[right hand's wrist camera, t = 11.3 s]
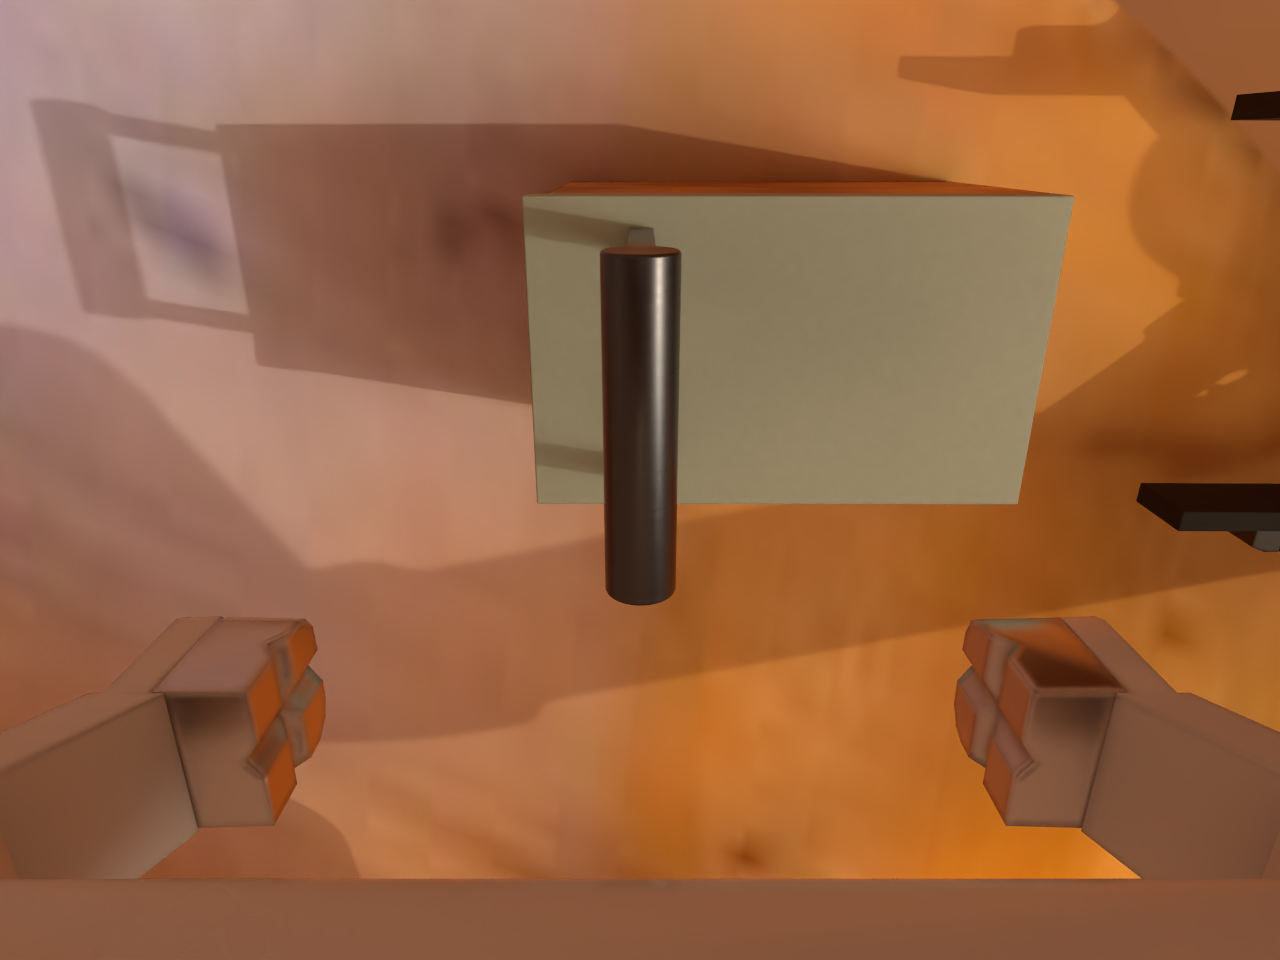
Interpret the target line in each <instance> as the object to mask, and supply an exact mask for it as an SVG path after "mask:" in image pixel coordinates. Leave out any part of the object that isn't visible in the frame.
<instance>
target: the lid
mask: <svg viewBox="0 0 1280 960" xmlns="http://www.w3.org/2000/svg"><path fill="white" fill-rule="evenodd" d="M1073 202H1074V196H1071V195H1062V194H967V193H529V194H526V195H524V196H522V210H523V230H524V250H525V270H526V290H527V310H528V330H529V350H530V370H531V390H532V410H533V430H534V450H535V470H536V490H537V503H539V504H604V525H605V583H606V591H607V593H608V594H609V595H610V596H611V597H612V598H613V599H615V600H617V601H619V602H622V603H625V604H630V605H651V604H656V603H659V602H662V601H664V600H666V599H668V598H669V597H671V595H672V594H673V593H674V591H675V585H676V531H677V504H1017V503H1018V498H1019V493H1020V488H1021V482H1022V477H1023V471H1024V466H1025V461H1026V455H1027V450H1028V444H1029V439H1030V434H1031V428H1032V423H1033V417H1034V412H1035V407H1036V401H1037V396H1038V390H1039V385H1040V380H1041V374H1042V369H1043V363H1044V358H1045V353H1046V347H1047V342H1048V336H1049V331H1050V326H1051V320H1052V315H1053V309H1054V304H1055V299H1056V293H1057V288H1058V283H1059V277H1060V272H1061V266H1062V261H1063V256H1064V250H1065V245H1066V239H1067V234H1068V229H1069V223H1070V218H1071V212H1072V207H1073Z"/></svg>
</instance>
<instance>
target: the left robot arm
mask: <svg viewBox="0 0 1280 960" xmlns="http://www.w3.org/2000/svg"><path fill="white" fill-rule="evenodd" d="M1231 120H1280V91H1276V92H1265V93H1253V94H1242V95H1237V97H1236V101H1235V105H1234V109H1233V113H1232V117H1231ZM1137 502H1138V503H1140V504H1141V505H1143V506H1144V507H1145V508H1147V509H1148V510H1150V511H1151V512H1152V513H1154V514H1155V515H1157V516H1158V517H1159V518H1161V519H1162V520H1164V521H1165V522H1166V523H1168V524H1169V525H1171V526H1172V527H1173V528H1175V529H1176V530H1178V531H1228V532H1230V533H1231V534H1233V535H1235V536H1236V537H1238V538H1239V539H1241V540H1242V541H1244V542H1245V543H1247V544H1248V545H1250V546H1251V547H1253V548H1256V549H1258V550H1261V551H1263V552H1278V551H1280V484H1205V483H1141V485H1140V489H1139V493H1138V497H1137Z"/></svg>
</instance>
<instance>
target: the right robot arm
mask: <svg viewBox="0 0 1280 960" xmlns="http://www.w3.org/2000/svg"><path fill="white" fill-rule="evenodd" d="M316 651H317V645H316V640H315V635H314V631H313V626H312V625H311V624H310V623H309V622H308V621H307V620H306V619H291V618H240V617H227V618H223V617H186V618H180V619H176V620H175V621H174V622H173V623H172V624H171V625H170V626H169V627H168V628H167V629H166V630H165V631H164V632H163V633H162V634H161V635H160V636H159V637H158V638H157V639H156V640H155V641H154V642H153V643H152V644H151V645H150V646H149V647H148V648H147V649H146V650H145V651H144V652H143V653H142V654H141V655H140V656H139V657H138V658H137V659H136V660H135V661H134V662H133V663H132V664H131V665H130V666H129V667H128V668H127V669H126V670H125V671H124V672H123V673H122V674H121V675H120V676H119V677H118V678H117V679H116V680H115V681H114V682H113V683H112V684H111V685H110V686H109V687H108V688H107V689H106V690H105V691H104V692H103V693H88V694H86V695H84V696H81V697H79V698H77V699H75V700H72V701H70V702H68V703H66V704H63V705H61V706H59V707H57V708H54V709H52V710H50V711H48V712H45V713H43V714H41V715H39V716H36V717H34V718H32V719H30V720H27V721H25V722H23V723H21V724H18V725H16V726H14V727H11V728H9V729H7V730H5V731H2V732H0V960H1280V732H1277V731H1275V730H1273V729H1271V728H1268V727H1266V726H1264V725H1262V724H1259V723H1257V722H1255V721H1253V720H1250V719H1248V718H1246V717H1244V716H1241V715H1239V714H1237V713H1235V712H1232V711H1230V710H1228V709H1226V708H1223V707H1221V706H1219V705H1217V704H1214V703H1212V702H1210V701H1208V700H1205V699H1203V698H1201V697H1199V696H1196V695H1194V694H1192V693H1177V692H1176V691H1175V690H1174V689H1173V688H1172V687H1171V686H1170V685H1169V684H1168V683H1167V682H1166V681H1165V680H1164V679H1163V678H1162V677H1161V676H1160V675H1159V674H1158V673H1157V672H1156V671H1155V670H1154V669H1153V668H1152V667H1151V666H1150V665H1149V664H1148V663H1147V662H1146V661H1145V660H1144V659H1143V658H1142V657H1141V656H1140V655H1139V654H1138V653H1137V652H1136V651H1135V650H1134V649H1133V648H1132V647H1131V646H1130V645H1129V644H1128V643H1127V642H1126V641H1125V640H1124V639H1123V638H1122V637H1121V636H1120V635H1119V634H1118V633H1117V632H1116V631H1115V630H1114V629H1113V628H1112V627H1111V626H1110V625H1109V624H1108V623H1107V622H1106V621H1105V620H1103V619H1100V618H1097V617H1095V616H1089V617H1064V618H1027V619H987V620H971V622H970V624H969V626H968V628H967V630H966V633H965V639H964V644H963V651H964V653H965V655H966V656H967V658H968V659H969V661H970V663H971V664H972V666H971V667H970V668H969V669H968V670H967V671H966V672H965V673H964V674H963V675H962V676H961V677H960V678H959V679H958V680H957V686H956V694H955V701H954V707H955V719H956V727H957V730H958V734H959V737H960V740H961V743H962V745H963V747H964V749H965V751H966V753H967V755H968V757H970V758H971V759H973V760H974V761H976V762H977V763H979V764H980V765H982V766H983V767H985V768H986V770H985V775H984V780H983V785H984V786H985V788H986V790H987V792H988V794H989V795H990V797H991V799H992V801H993V803H994V805H995V806H996V808H997V810H998V812H999V814H1000V815H1001V817H1002V819H1003V821H1004V823H1005V825H1006V826H1036V827H1073V828H1082V830H1081V831H1082V832H1083V833H1084V834H1086V835H1087V836H1088V837H1090V838H1091V839H1092V840H1093V841H1095V842H1096V843H1097V844H1098V845H1100V846H1101V847H1102V848H1104V849H1105V850H1106V851H1107V852H1109V853H1110V854H1111V855H1113V856H1114V857H1115V858H1116V859H1118V860H1119V861H1120V862H1121V863H1123V864H1124V865H1125V866H1127V867H1128V868H1129V869H1130V870H1132V871H1133V872H1134V873H1135V874H1137V875H1138V876H1139V877H1141V878H1142V879H138V878H140V877H141V876H142V875H144V874H145V873H146V872H147V871H149V870H150V869H151V868H152V867H154V866H155V865H156V864H158V863H159V862H160V861H161V860H163V859H164V858H165V857H167V856H168V855H169V854H170V853H172V852H173V851H174V850H175V849H177V848H178V847H179V846H181V845H182V844H183V843H184V842H186V841H187V840H188V839H190V838H191V837H192V836H193V835H195V834H196V833H197V832H198V828H207V827H242V826H274V825H275V823H276V821H277V819H278V817H279V816H280V814H281V812H282V810H283V808H284V806H285V805H286V803H287V801H288V799H289V797H290V796H291V794H292V792H293V790H294V788H295V786H296V785H297V780H296V775H295V769H294V768H295V767H297V766H298V765H300V764H301V763H303V762H304V761H306V760H307V759H309V758H310V757H312V755H313V753H314V751H315V749H316V747H317V745H318V743H319V741H320V738H321V733H322V729H323V725H324V720H325V692H324V685H323V680H322V679H321V678H320V677H319V676H318V675H317V674H316V673H315V672H314V671H313V670H312V669H311V668H310V667H309V666H308V664H309V663H310V661H311V659H312V658H313V656H314V655H315V653H316Z"/></svg>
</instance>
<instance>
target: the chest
mask: <svg viewBox="0 0 1280 960" xmlns="http://www.w3.org/2000/svg"><path fill="white" fill-rule="evenodd" d="M550 193H967V194H1050V193H1044V192H1035V191H1026V190H1018V189H1009V188H1000V187H992V186H983V185H974V184H966V183H957V182H570V183H568V184H566V185H564V186H562V187H560V188H558V189H556V190H554V191H552V192H550Z"/></svg>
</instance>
